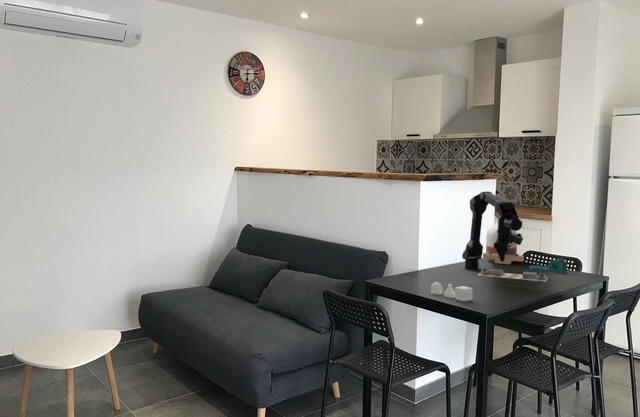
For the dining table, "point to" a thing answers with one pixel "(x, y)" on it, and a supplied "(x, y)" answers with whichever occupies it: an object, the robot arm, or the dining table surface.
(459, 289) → the container set
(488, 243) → the vase
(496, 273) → the lower chain end
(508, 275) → the board
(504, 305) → the dining table surface
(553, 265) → the teal handled piece
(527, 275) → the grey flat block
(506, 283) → the dining table surface
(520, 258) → the master link
